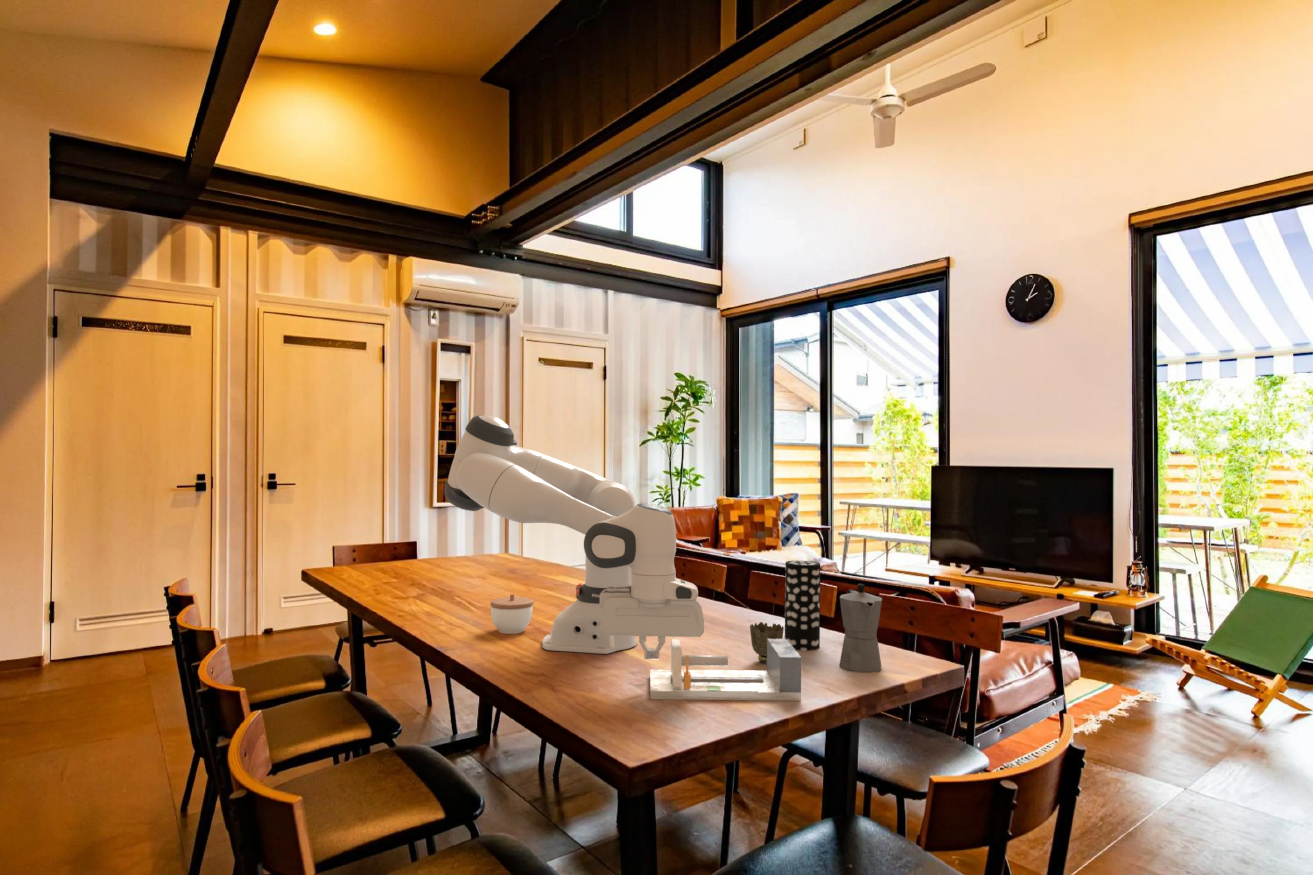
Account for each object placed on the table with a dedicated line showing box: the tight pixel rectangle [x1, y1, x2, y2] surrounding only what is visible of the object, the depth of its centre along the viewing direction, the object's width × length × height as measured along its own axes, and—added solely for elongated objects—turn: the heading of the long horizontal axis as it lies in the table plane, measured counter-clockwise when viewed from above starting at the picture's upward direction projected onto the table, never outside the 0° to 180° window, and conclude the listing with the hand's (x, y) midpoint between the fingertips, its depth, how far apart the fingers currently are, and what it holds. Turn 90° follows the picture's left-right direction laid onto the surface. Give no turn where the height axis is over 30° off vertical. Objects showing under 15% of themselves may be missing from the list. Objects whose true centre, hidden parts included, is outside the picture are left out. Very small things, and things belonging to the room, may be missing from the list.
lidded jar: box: [490, 593, 534, 635], centre depth 187 cm, size 11×11×9 cm
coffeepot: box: [839, 583, 883, 674], centre depth 160 cm, size 15×9×18 cm, turn 2°
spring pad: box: [670, 638, 729, 687], centre depth 141 cm, size 11×12×6 cm
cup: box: [749, 621, 785, 664], centre depth 162 cm, size 8×7×8 cm
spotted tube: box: [784, 560, 821, 652], centre depth 176 cm, size 8×8×20 cm
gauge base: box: [649, 638, 802, 702], centre depth 142 cm, size 28×14×8 cm, turn 91°
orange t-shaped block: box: [683, 656, 691, 688], centre depth 136 cm, size 1×2×6 cm, turn 1°
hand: (651, 658), depth 142 cm, fingers closed
